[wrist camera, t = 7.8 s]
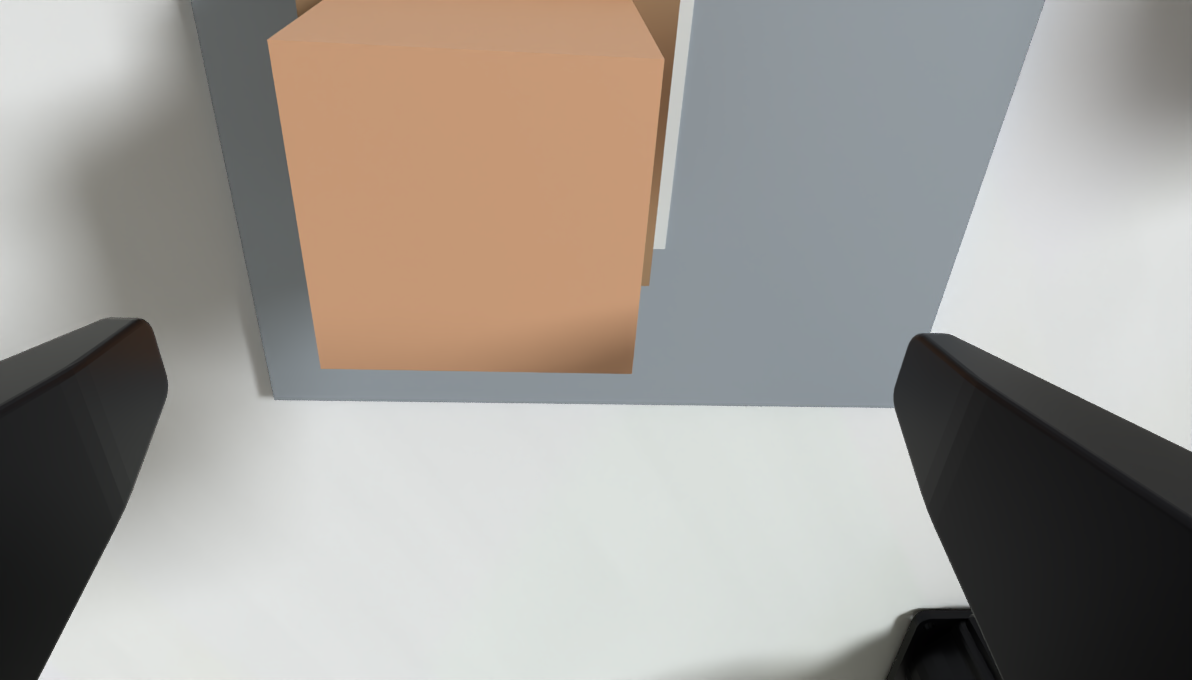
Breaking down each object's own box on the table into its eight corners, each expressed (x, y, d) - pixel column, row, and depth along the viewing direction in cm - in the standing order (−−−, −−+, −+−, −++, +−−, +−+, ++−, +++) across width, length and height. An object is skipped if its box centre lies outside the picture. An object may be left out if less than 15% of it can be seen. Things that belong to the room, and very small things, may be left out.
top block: (610, 241, 17) (631, 374, 13) (377, 234, 16) (320, 368, 12) (629, -6, 14) (664, 59, 10) (351, -21, 14) (267, 39, 10)
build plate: (896, 396, 26) (904, 408, 25) (280, 388, 24) (273, 401, 24) (1091, -182, 17) (1109, -182, 16) (150, -254, 15) (135, -257, 15)
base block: (632, 215, 21) (649, 285, 18) (369, 206, 20) (334, 278, 17) (658, -78, 17) (687, -59, 14) (336, -98, 17) (283, -83, 13)
